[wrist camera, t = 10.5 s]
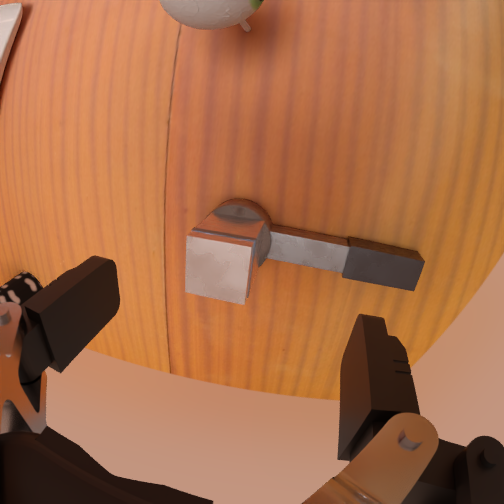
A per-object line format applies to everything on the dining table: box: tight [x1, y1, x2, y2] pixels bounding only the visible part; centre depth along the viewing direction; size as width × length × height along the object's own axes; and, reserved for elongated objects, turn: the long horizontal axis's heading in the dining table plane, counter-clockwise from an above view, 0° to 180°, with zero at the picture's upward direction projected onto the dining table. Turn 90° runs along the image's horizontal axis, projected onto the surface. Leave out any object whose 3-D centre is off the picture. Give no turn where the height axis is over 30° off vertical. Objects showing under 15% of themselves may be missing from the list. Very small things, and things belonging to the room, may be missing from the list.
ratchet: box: [205, 199, 425, 291], centre depth 28 cm, size 22×7×7 cm, turn 83°
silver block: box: [185, 212, 265, 305], centre depth 27 cm, size 5×5×6 cm
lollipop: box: [160, 0, 264, 32], centre depth 17 cm, size 7×7×15 cm
